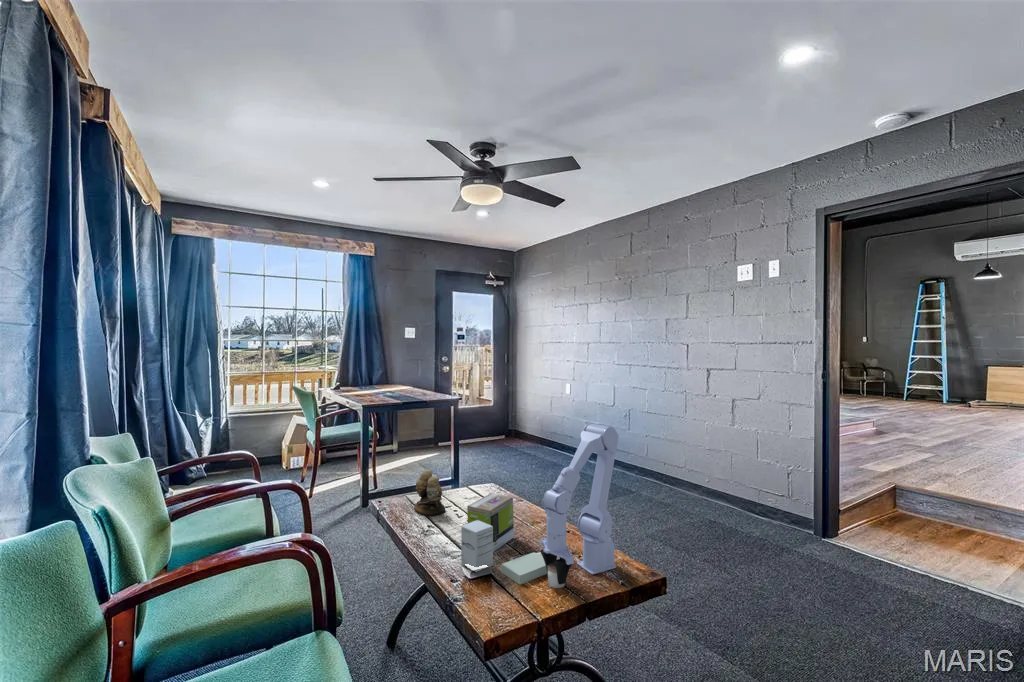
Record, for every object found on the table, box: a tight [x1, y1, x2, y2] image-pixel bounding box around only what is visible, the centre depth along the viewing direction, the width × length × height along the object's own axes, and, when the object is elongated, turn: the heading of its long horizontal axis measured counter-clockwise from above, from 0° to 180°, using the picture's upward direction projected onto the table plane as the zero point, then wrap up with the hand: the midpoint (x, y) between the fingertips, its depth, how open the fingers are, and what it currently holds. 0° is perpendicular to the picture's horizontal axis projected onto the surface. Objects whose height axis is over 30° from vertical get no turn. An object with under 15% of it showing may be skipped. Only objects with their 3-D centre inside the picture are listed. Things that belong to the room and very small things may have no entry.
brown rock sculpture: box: [413, 469, 446, 517], centre depth 198 cm, size 18×12×17 cm, turn 34°
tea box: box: [466, 493, 515, 553], centre depth 165 cm, size 15×10×15 cm, turn 149°
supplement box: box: [460, 520, 494, 567], centre depth 149 cm, size 7×7×13 cm
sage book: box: [500, 552, 548, 585], centre depth 145 cm, size 13×9×3 cm
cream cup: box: [547, 563, 566, 589], centre depth 138 cm, size 5×5×5 cm
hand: (556, 578), depth 138 cm, fingers closed on cream cup, 5 cm apart
